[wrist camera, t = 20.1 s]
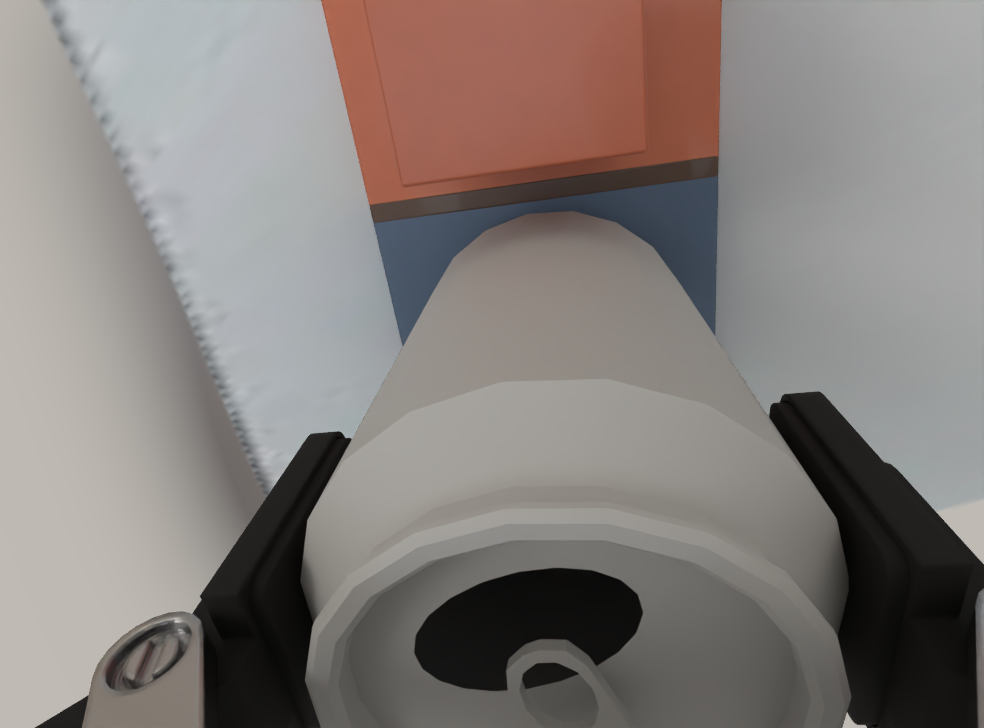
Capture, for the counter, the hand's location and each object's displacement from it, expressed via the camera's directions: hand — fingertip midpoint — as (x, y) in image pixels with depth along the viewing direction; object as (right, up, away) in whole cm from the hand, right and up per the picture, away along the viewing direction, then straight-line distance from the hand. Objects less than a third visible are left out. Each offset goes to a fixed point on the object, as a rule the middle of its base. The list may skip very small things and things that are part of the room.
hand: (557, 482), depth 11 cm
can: (+1, +3, +7) cm, 7 cm away
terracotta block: (-1, +10, +4) cm, 11 cm away
